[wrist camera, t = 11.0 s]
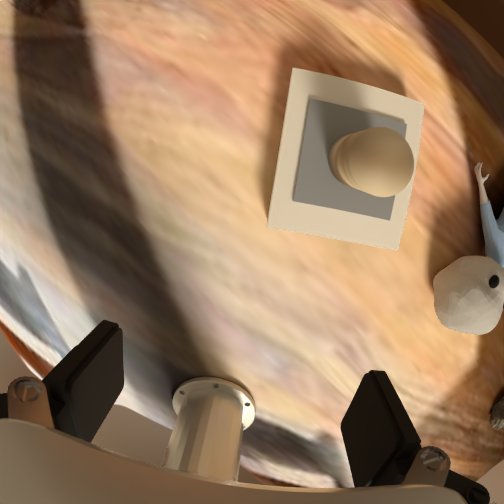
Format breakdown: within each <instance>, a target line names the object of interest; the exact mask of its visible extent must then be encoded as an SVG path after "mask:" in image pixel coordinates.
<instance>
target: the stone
mask: <svg viewBox="0 0 504 504" xmlns="http://www.w3.org/2000/svg"><path fill="white" fill-rule="evenodd" d="M490 424H491V426H492V427H493V428H497V429H501V428H504V396H503V397H502V398H501V400H500V401H499V402H498V403H497V404H495V405H494V406H493V409H492V415H491V416H490Z"/></svg>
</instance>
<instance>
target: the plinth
mask: <svg viewBox="0 0 504 504" xmlns="http://www.w3.org/2000/svg"><path fill="white" fill-rule="evenodd" d="M423 113H424V104H423V103H421V102H418V101H416V100H413V99H410V98H407V97H404V96H402V95H399V94H396V93H393V92H390V91H386V90H383V89H380V88H377V87H373V86H370V85H367V84H363V83H360V82H356V81H352V80H348V79H344V78H340V77H336V76H332V75H328V74H323V73H318V72H314V71H309V70H304V69H298V68H293V69H292V73H291V77H290V82H289V89H288V95H287V102H286V108H285V114H284V120H283V127H282V133H281V139H280V145H279V151H278V157H277V163H276V170H275V176H274V182H273V188H272V194H271V200H270V206H269V212H268V218H267V228H273V229H279V230H285V231H291V232H297V233H303V234H308V235H314V236H320V237H325V238H331V239H336V240H342V241H347V242H353V243H358V244H364V245H369V246H374V247H380V248H385V249H390V250H395V251H398V248H399V244H400V240H401V236H402V232H403V228H404V224H405V220H406V215H407V211H408V206H409V202H410V197H411V192H412V187H413V182H414V176H415V171H416V165H417V159H418V152H419V145H420V138H421V131H422V122H423ZM374 127H386V128H390V129H392V130H394V131H396V132H398V133H399V134H400V135H401V136H403V137H404V139H405V140H406V141H407V143H408V144H409V146H410V148H411V150H412V153H413V158H414V170H413V175H412V178H411V180H410V182H409V183H408V185H407V186H406V187H405V188H404V189H403V190H402V191H401V192H399V193H398V194H396V195H393V196H390V197H377V196H374V195H371V194H369V193H366V192H363V191H361V190H358V189H355V188H352V187H350V186H347V185H344V184H342V183H341V182H339V181H338V180H337V179H336V178H335V177H334V176H333V174H332V173H331V171H330V168H329V164H328V155H329V151H330V148H331V147H332V145H333V144H334V142H335V141H336V140H338V139H339V138H341V137H343V136H346V135H349V134H352V133H356V132H359V131H363V130H366V129H370V128H374Z"/></svg>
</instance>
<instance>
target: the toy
mask: <svg viewBox="0 0 504 504" xmlns="http://www.w3.org/2000/svg"><path fill="white" fill-rule="evenodd" d="M479 164H480V162H479V163H478V164H477V165H476V166H475V173H476V177H477V180H478V183H479V192H480V210H481V219H482V227H483V233H484V239H485V247H486V257H483V256H463V257H460V258H458V259H457V260H455V261H454V262H453V263H451V264H450V265H448V266H447V267H446V268H444V269H443V270H441V271H439V272H438V273H437V275H436V276H435V277H434V280H433V288H434V307H435V312H436V314H437V316H438V319H439V320H440V322H441V324H443V325H444V326H445V327H446V328H448V329H451V330H455V331H458V332H461V333H466V334H474V335H481V334H486V333H488V332H490V331H491V330H492V329H493V328H494V327H495V326H496V325H497V323H498V321H499V319H500V317H501V313H502V310H503V308H504V269H503V268H504V208H503V211H502V213H501V215H500V217H499V219H497V220H495V217H494V215H493V211H492V208H491V204H490V200H489V199H488V198H487V195H486V192H485V188H484V185H483V183H484V181H485V180H486V179H487V178H488V176H489V174H488V175H487V176H486V177H484V178H483V177H482V176H481V166H482V163H481V165H480V167H479ZM477 166H478V167H477Z"/></svg>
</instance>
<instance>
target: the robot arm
mask: <svg viewBox="0 0 504 504" xmlns="http://www.w3.org/2000/svg"><path fill="white" fill-rule="evenodd" d="M123 386H124V369H123V334H122V329H121V328H119V326H118V324H117V323H114V322H110V321H107V320H103V321H102V322H101V323H100V324H98V325H97V326H96V327H95V328H94V329H93V330H92V331H91V332H90V333H89V334H88V335H87V336H86V337H85V338H84V339H83V340H82V341H81V342H80V343H79V344H78V345H77V346H75V347H74V348H73V349H72V350H71V351H70V352H69V353H68V354H67V355H66V356H65V357H64V358H63V359H62V360H61V361H60V362H59V363H58V364H57V365H56V366H55V367H54V368H53V370H52V371H51V372H50V373H49V374H48V375H47V376H46V377H45V378H44V379H43V380H42V381H40V380H39V379H37V378H34V377H27V376H25V377H19V378H17V379H15V380H14V381H12V382H11V383H10V385H9V386H8V391H7V393H3V394H0V504H490V503H489V501H490V496H489V493H488V491H487V489H486V488H485V487H484V486H482V485H481V484H479V483H476V482H474V481H472V480H470V479H468V478H466V477H464V476H462V475H460V474H458V473H455V472H453V471H451V470H449V469H450V464H451V462H450V458H449V457H448V455H447V454H446V453H445V452H444V451H443V450H441V449H440V448H437V447H434V446H426V447H423V448H422V447H421V445H420V443H421V440H420V438H419V436H418V434H417V432H416V430H415V428H414V426H413V424H412V422H411V420H410V418H409V416H408V414H407V412H406V410H405V408H404V406H403V404H402V402H401V400H400V398H399V397H398V395H397V393H396V391H395V389H394V387H393V385H392V383H391V381H390V380H389V378H388V376H387V374H386V372H385V371H377V370H371V371H369V373H366V374H365V375H364V376H363V378H362V381H361V383H360V385H359V387H358V389H357V391H356V394H355V396H354V398H353V400H352V402H351V404H350V406H349V408H348V410H347V412H346V414H345V416H344V418H343V420H342V422H341V432H342V436H343V440H344V444H345V448H346V452H347V456H348V460H349V465H350V469H351V473H352V478H353V482H354V486H355V488H294V487H279V486H267V485H257V484H247V483H240V482H238V473H239V464H240V455H241V446H242V436H243V430H245V429H246V428H248V427H249V426H250V425H251V424H252V422H253V421H254V418H255V412H256V408H255V403H254V400H253V399H252V397H251V396H250V394H249V393H248V392H247V391H246V390H244V389H243V388H241V387H240V386H239V385H237V384H235V383H233V382H230V381H227V380H224V379H220V378H216V377H198V378H193V379H190V380H188V381H185V382H184V383H182V384H181V385H180V386H179V387H178V388H177V389H176V391H175V394H174V397H173V408H174V411H175V412H176V414H177V416H178V417H177V420H176V423H175V426H174V429H173V432H172V435H171V438H170V441H169V444H168V447H167V450H166V453H165V456H164V459H163V462H162V465H161V466H157V465H154V464H151V463H147V462H144V461H141V460H137V459H134V458H131V457H128V456H125V455H122V454H119V453H116V452H113V451H111V450H108V449H104V448H102V447H100V446H97V445H94V444H92V443H91V441H92V439H93V438H94V436H95V434H96V433H97V430H98V429H99V427H100V426H101V424H102V422H103V421H104V419H105V418H106V416H107V414H108V413H109V411H110V409H111V408H112V406H113V404H114V403H115V401H116V399H117V398H118V396H119V395H120V393H121V391H122V389H123ZM491 504H496V503H495V502H492V503H491Z"/></svg>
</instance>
